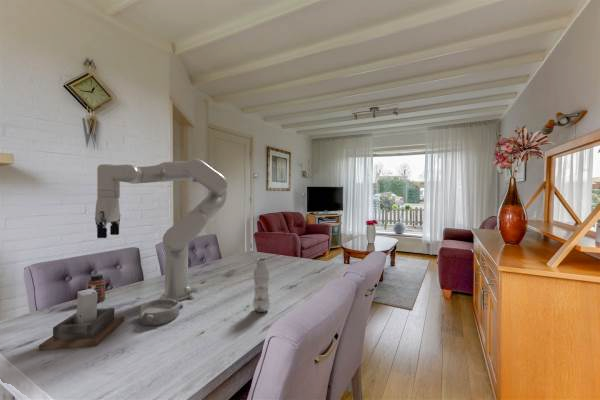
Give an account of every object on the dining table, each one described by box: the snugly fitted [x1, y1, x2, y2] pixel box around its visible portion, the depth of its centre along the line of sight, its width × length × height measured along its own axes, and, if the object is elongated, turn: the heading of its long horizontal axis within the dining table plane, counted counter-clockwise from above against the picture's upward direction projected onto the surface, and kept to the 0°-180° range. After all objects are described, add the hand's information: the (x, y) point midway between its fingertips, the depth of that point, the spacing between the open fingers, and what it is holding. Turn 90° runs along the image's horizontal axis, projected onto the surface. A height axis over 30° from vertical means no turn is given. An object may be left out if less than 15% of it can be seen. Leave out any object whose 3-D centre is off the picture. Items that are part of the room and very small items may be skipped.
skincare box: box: [76, 288, 98, 324], centre depth 87 cm, size 6×4×12 cm
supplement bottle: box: [87, 273, 106, 303], centre depth 114 cm, size 6×6×11 cm
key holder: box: [38, 307, 125, 351], centre depth 87 cm, size 15×17×6 cm
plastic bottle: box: [252, 258, 271, 313], centre depth 105 cm, size 6×7×20 cm
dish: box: [138, 298, 184, 326], centre depth 99 cm, size 14×14×5 cm
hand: (108, 236), depth 110 cm, fingers open, 9 cm apart
